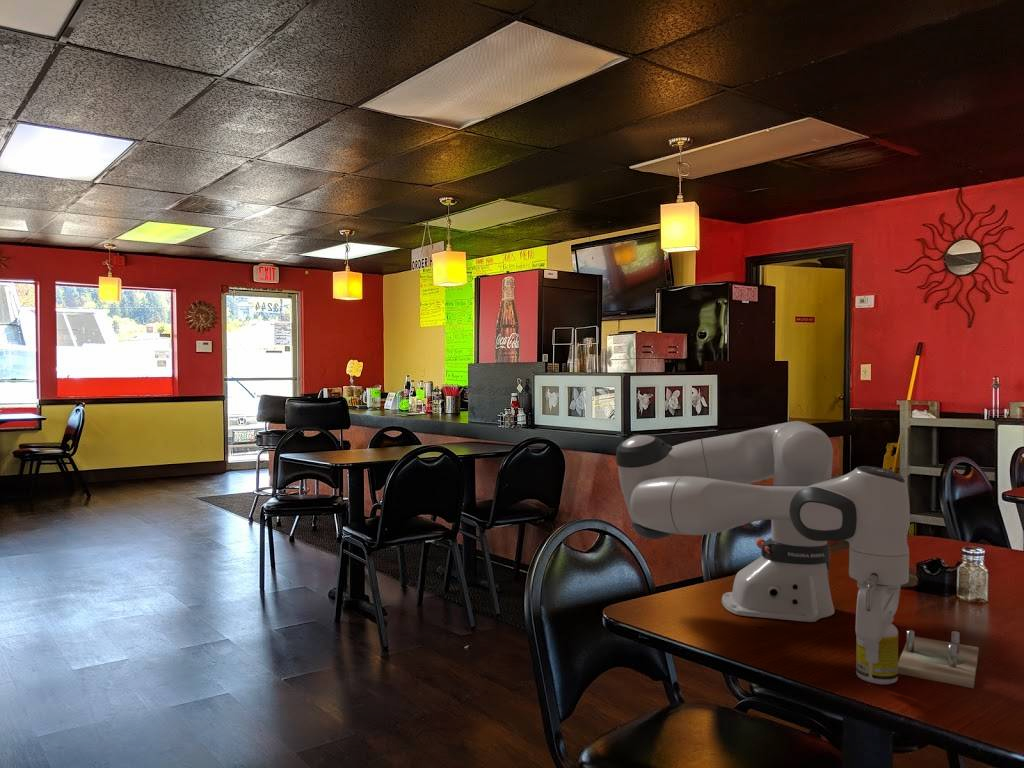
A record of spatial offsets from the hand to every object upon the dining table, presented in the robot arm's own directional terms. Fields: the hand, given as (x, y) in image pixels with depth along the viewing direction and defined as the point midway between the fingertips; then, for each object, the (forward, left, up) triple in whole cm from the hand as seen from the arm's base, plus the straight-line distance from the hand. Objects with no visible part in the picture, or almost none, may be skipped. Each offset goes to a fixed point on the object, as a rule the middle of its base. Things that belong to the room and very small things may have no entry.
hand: (876, 652), depth 128 cm
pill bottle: (0, 0, -4) cm, 4 cm away
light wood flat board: (+13, +8, -4) cm, 16 cm away
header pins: (+12, +9, -3) cm, 15 cm away
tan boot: (+25, +63, -4) cm, 68 cm away
